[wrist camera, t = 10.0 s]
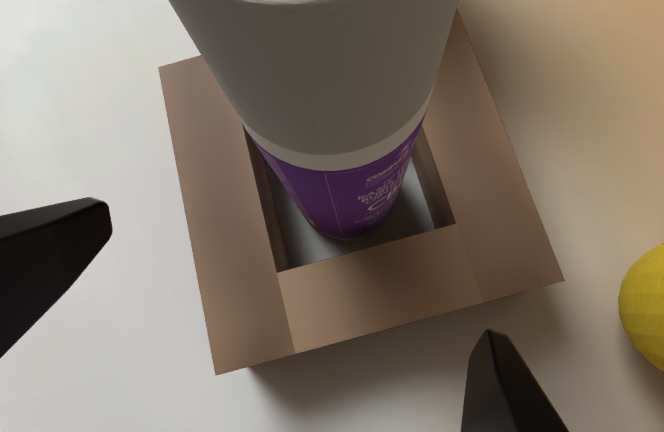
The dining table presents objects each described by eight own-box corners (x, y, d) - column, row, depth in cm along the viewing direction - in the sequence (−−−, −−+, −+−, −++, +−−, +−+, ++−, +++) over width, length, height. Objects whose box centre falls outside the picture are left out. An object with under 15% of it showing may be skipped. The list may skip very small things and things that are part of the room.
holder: (243, 361, 18) (215, 375, 14) (191, 106, 21) (158, 67, 17) (525, 284, 18) (564, 280, 14) (433, 38, 20) (447, -15, 17)
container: (381, 251, 18) (464, 57, 4) (286, 225, 19) (31, -30, 4) (406, 159, 19) (550, -297, 5) (313, 136, 20) (180, -329, 5)
